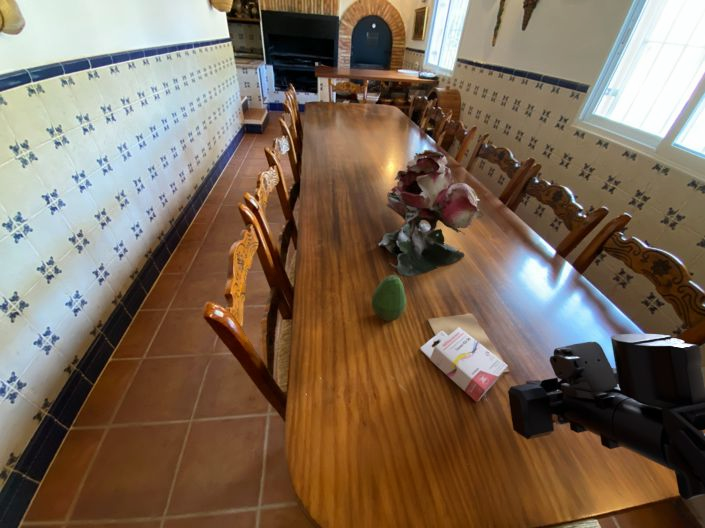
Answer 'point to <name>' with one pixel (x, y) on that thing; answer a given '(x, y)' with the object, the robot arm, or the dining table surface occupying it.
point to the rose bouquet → (428, 214)
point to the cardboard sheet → (467, 325)
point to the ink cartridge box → (465, 362)
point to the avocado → (389, 298)
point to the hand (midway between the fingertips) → (528, 383)
